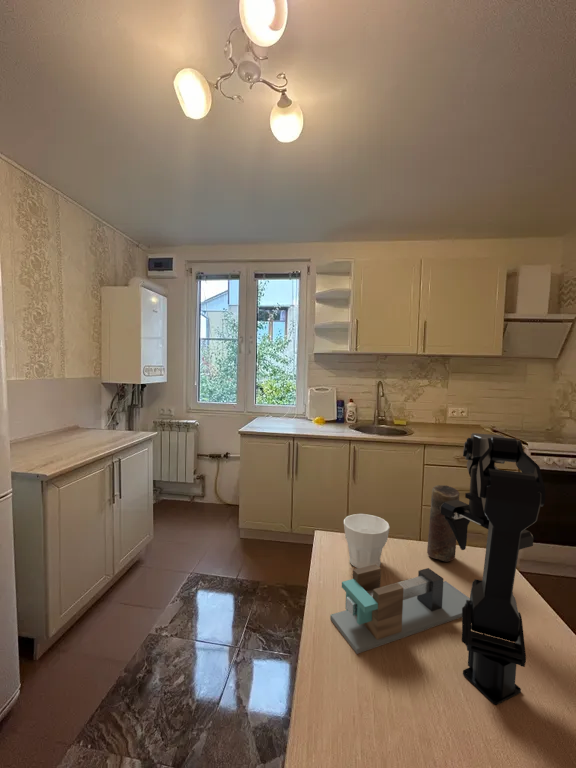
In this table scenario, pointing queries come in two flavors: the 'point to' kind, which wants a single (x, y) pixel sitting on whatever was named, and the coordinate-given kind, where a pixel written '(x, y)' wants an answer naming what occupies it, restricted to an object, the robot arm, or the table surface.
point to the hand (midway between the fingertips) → (480, 559)
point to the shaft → (415, 591)
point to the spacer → (360, 600)
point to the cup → (365, 538)
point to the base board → (413, 620)
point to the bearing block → (381, 602)
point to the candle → (441, 525)
